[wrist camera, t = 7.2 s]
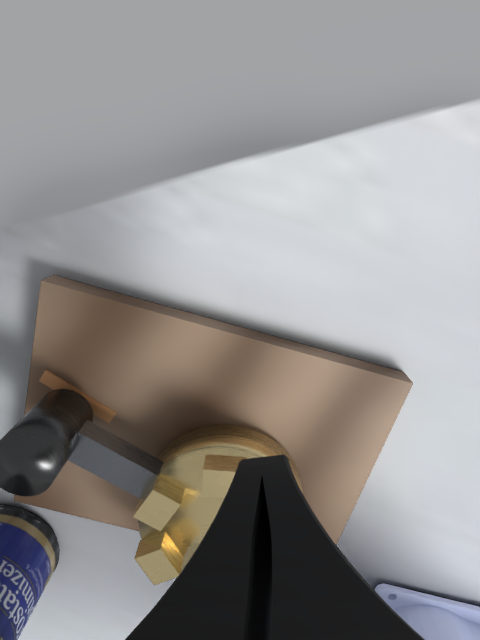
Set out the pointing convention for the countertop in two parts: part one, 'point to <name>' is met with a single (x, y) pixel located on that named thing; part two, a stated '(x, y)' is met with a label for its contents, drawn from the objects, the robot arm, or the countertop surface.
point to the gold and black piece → (135, 472)
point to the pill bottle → (23, 566)
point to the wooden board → (205, 395)
